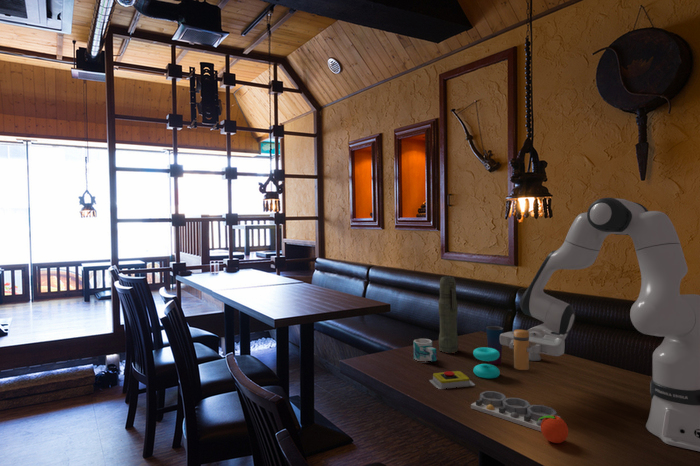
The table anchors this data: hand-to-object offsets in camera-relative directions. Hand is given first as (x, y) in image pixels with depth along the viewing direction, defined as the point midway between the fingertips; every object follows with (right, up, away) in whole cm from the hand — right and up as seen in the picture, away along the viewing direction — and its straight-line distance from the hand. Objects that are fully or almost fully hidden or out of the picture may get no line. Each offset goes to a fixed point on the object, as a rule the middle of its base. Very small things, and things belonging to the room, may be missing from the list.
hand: (519, 348), depth 142 cm
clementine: (0, -20, -22) cm, 30 cm away
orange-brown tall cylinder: (+1, -7, +1) cm, 7 cm away
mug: (-22, -19, +49) cm, 57 cm away
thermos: (-9, -18, +63) cm, 66 cm away
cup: (+7, -18, +45) cm, 49 cm away
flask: (+25, -18, +49) cm, 58 cm away
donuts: (-1, -19, +30) cm, 36 cm away
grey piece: (-4, -19, -5) cm, 20 cm away
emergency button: (-17, -20, +23) cm, 34 cm away
